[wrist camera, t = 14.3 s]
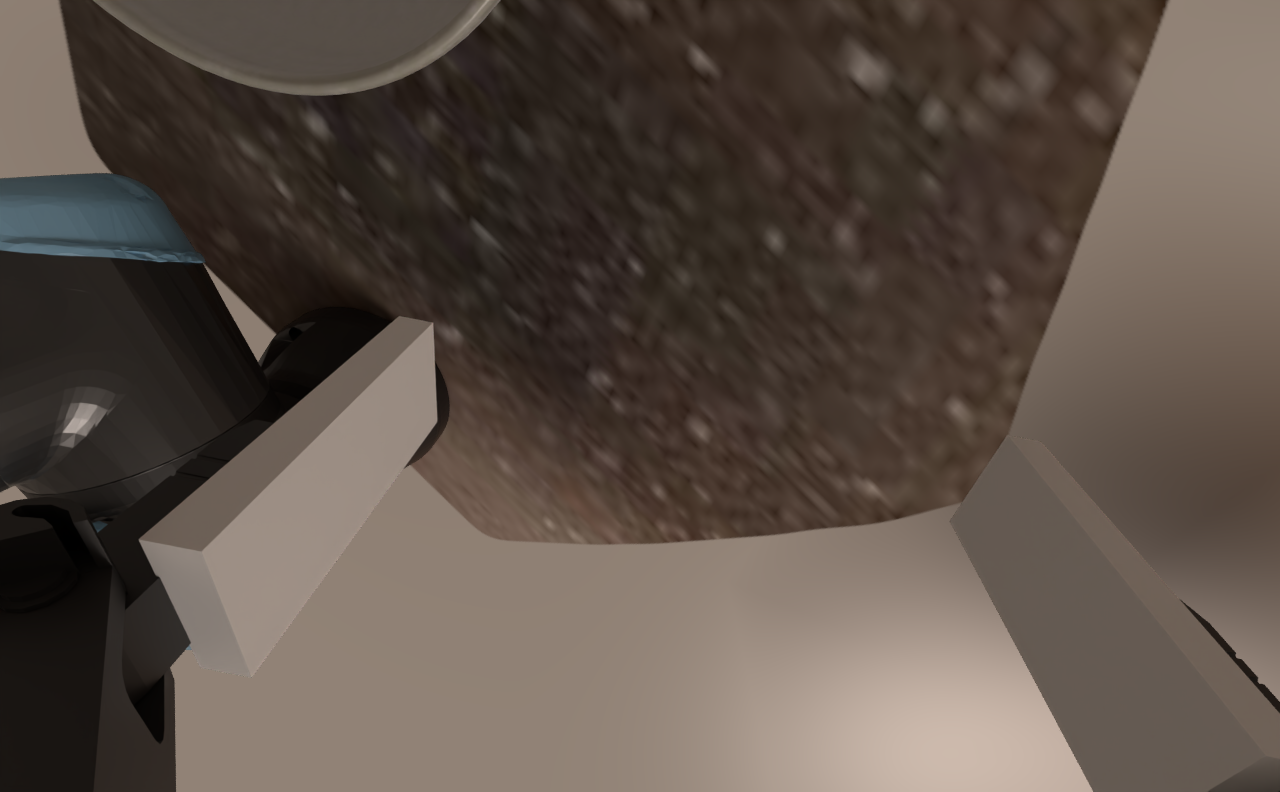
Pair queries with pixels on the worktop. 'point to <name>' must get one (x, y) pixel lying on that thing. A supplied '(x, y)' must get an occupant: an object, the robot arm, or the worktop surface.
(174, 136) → the worktop surface
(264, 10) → the decorative bowl
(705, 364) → the worktop surface
